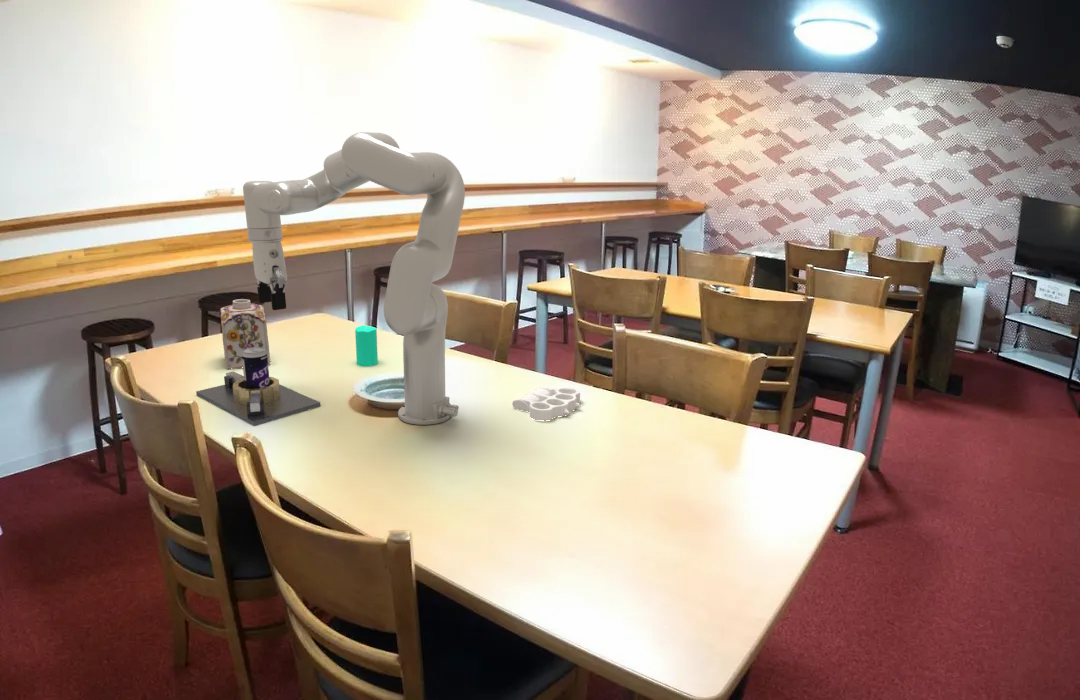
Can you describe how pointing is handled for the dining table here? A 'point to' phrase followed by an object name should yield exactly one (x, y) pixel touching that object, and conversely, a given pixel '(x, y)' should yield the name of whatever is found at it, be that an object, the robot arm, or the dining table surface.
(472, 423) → the dining table surface
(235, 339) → the decorative jar
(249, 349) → the beverage can
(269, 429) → the dining table surface
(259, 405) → the grey plate with collar
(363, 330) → the candle
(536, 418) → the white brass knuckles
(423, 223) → the robot arm
